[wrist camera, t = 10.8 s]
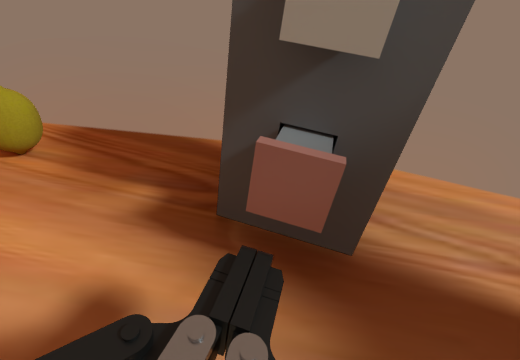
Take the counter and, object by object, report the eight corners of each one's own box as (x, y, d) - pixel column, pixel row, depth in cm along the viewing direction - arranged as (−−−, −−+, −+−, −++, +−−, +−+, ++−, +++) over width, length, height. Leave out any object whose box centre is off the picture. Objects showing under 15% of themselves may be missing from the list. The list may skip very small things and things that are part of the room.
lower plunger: (321, 233, 18) (346, 164, 16) (245, 210, 19) (256, 141, 16) (328, 172, 26) (346, 118, 23) (273, 158, 27) (284, 104, 24)
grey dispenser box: (351, 255, 26) (515, -84, 13) (216, 214, 28) (241, -112, 15) (350, 190, 36) (441, -38, 23) (250, 163, 38) (282, -59, 25)
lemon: (-15, 150, 31) (-48, 80, 27) (42, 139, 35) (21, 76, 31) (-3, 170, 29) (-37, 96, 24) (57, 156, 32) (37, 90, 28)
